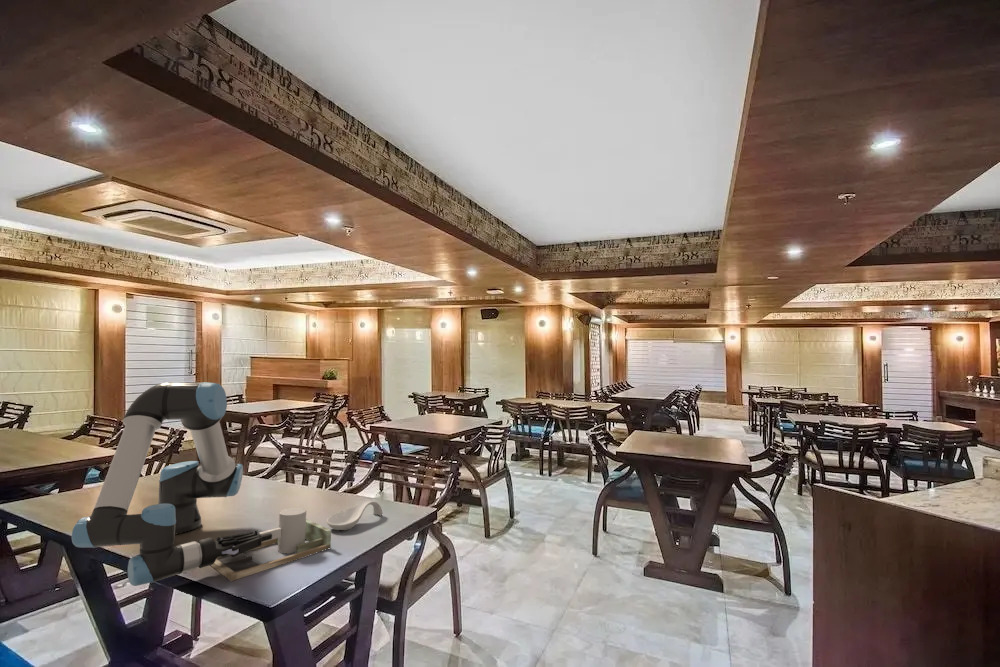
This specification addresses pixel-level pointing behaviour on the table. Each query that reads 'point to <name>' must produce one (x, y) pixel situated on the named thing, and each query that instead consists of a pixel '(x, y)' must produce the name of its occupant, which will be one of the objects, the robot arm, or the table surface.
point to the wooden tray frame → (246, 566)
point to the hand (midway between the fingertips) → (280, 532)
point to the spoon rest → (351, 515)
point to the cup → (291, 529)
